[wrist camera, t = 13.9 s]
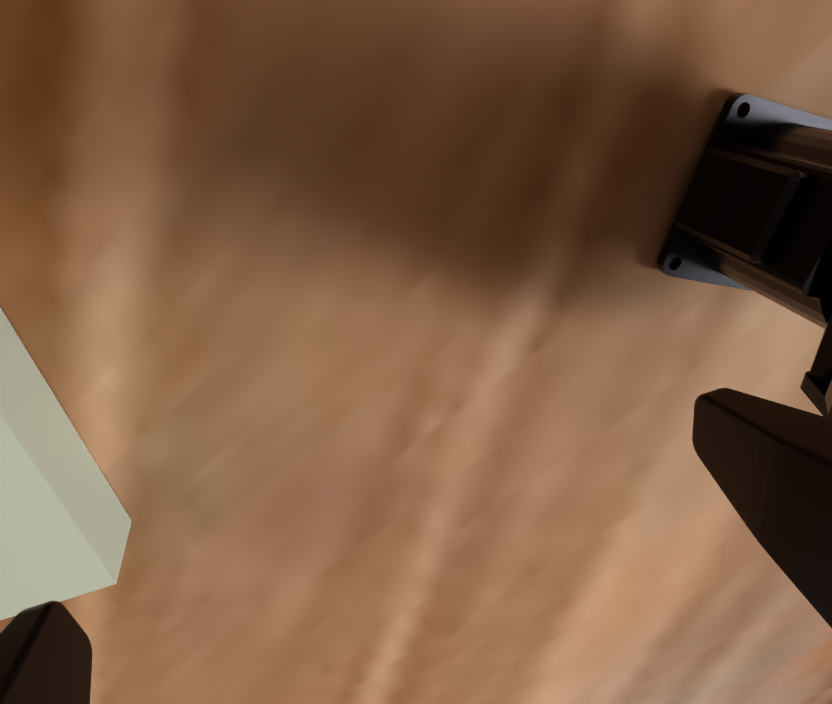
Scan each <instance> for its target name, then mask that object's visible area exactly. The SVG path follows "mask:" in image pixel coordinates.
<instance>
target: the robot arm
mask: <svg viewBox="0 0 832 704" xmlns="http://www.w3.org/2000/svg"><path fill="white" fill-rule="evenodd" d="M740 104H742V109H741V111H740V113H739V114H738V115H737V108H738V107H739V105H740ZM673 258H675V261H674V262H673V264H672V265H670V266H669V263H670V261H671V260H672V259H673ZM657 266H658V269H659V270H660V271H661V272H663V273H665V274H666V275H669V276H673V277H678V278H684V279H689V280H695V281H701V282H706V283H712V284H717V285H723V286H729V287H734V288H740V289H745V290H751V291H755V292H757V293H759V294H760V295H762V296H764V297H766V298H768V299H770V300H772V301H774V302H775V303H777V304H779V305H781V306H783V307H785V308H787V309H789V310H790V311H792V312H794V313H796V314H798V315H800V316H802V317H804V318H805V319H807V320H809V321H811V322H813V323H815V324H817V325H819V326H820V327H822V328H824V329H825V331H824V334H823V337H822V339H821V342H820V345H819V348H818V350H817V353H816V356H815V358H814V361H813V364H812V367H811V369H810V371H808V372H806V373H805V376H804V378H803V381H802V384H801V387H800V388H801V389H802V391H803V392H804V393H805V394H806V396H807V397H808V398H809V399H810V400H811V402H812V403H813V404H814V405H815V406H816V408H817V409H818V410H819V411H820V412H821V414H822V415H823V416H824V417H823V416H820V415H817V414H813V413H810V412H806V411H803V410H800V409H796V408H793V407H790V406H786V405H783V404H779V403H776V402H773V401H769V400H766V399H763V398H759V397H756V396H752V395H749V394H746V393H742V392H739V391H736V390H732V389H728V388H721V389H717V390H714V391H711V392H707V393H704V394H701V395H700V396H698V397H697V399H696V401H695V405H694V420H693V436H692V439H693V445H694V449H695V451H696V453H697V455H698V456H699V458H700V459H701V461H702V462H703V464H704V465H705V467H706V468H707V469H708V471H709V472H710V474H711V475H712V477H713V478H714V480H715V481H716V482H717V484H718V485H719V487H720V488H721V490H722V491H723V493H724V494H725V495H726V497H727V498H728V500H729V501H730V503H731V504H732V505H733V507H734V508H735V510H736V511H737V513H738V514H739V516H740V517H741V518H742V520H743V521H744V523H745V524H746V526H747V527H748V528H749V530H750V531H751V533H752V534H753V535H754V537H755V538H756V539H757V541H758V542H759V543H760V544H761V546H762V547H763V548H764V549H765V551H766V552H767V553H768V554H769V555H770V557H771V558H772V559H773V560H774V561H775V562H776V564H777V565H778V566H779V567H780V568H781V569H782V571H783V572H784V573H785V574H786V575H787V576H788V578H789V579H790V580H791V581H792V582H793V584H794V585H795V586H796V587H797V588H798V589H799V591H800V592H801V593H802V594H803V595H804V596H805V598H806V599H807V600H808V601H809V602H810V603H811V605H812V606H813V607H814V608H815V609H816V610H817V612H818V613H819V614H820V615H821V616H822V617H823V619H824V620H825V621H826V622H827V623H828V624H829V626H830V627H831V628H832V120H830V119H827V118H824V117H821V116H817V115H814V114H811V113H808V112H805V111H801V110H798V109H795V108H792V107H789V106H785V105H782V104H779V103H776V102H773V101H769V100H766V99H763V98H760V97H757V96H753V95H750V94H743V93H736V94H734V95H732V96H731V97H730V98H729V99H727V101H726V103H725V104H724V106H723V108H722V111H721V113H720V115H719V118H718V120H717V122H716V125H715V127H714V129H713V132H712V134H711V136H710V139H709V141H708V143H707V146H706V148H705V150H704V153H703V155H702V157H701V160H700V162H699V164H698V167H697V169H696V171H695V174H694V176H693V178H692V181H691V183H690V185H689V188H688V190H687V192H686V195H685V197H684V199H683V202H682V204H681V206H680V209H679V211H678V213H677V216H676V218H675V220H674V223H673V225H672V227H671V229H670V232H669V234H668V236H667V239H666V241H665V243H664V246H663V248H662V250H661V253H660V255H659V257H658V261H657ZM91 670H92V647H91V643H90V640H89V638H88V636H87V634H86V633H85V632H84V631H83V629H82V628H81V627H80V625H79V624H78V623H77V622H76V620H75V619H74V618H73V617H72V615H71V614H70V613H69V611H68V610H67V609H66V608H65V606H64V605H63V604H62V603H60V602H58V601H48V602H45V603H42V604H39V605H36V606H33V607H29V608H26V609H24V610H22V611H21V612H19V613H18V614H17V615H16V616H15V617H14V618H13V620H12V621H11V622H10V623H9V624H8V625H7V626H6V627H5V628H4V630H3V631H2V632H1V633H0V704H90V689H91Z"/></svg>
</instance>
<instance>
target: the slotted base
mask: <svg viewBox="0 0 832 704" xmlns="http://www.w3.org/2000/svg"><path fill="white" fill-rule="evenodd" d="M130 526H131V519H130V518H129V516H128V514H127V513H126V511H125V510H124V508H123V506H122V505H121V503H120V501H119V500H118V498H117V497H116V495H115V493H114V492H113V490H112V488H111V487H110V485H109V484H108V482H107V480H106V479H105V477H104V475H103V474H102V472H101V471H100V469H99V467H98V466H97V464H96V462H95V461H94V459H93V457H92V456H91V454H90V453H89V451H88V449H87V448H86V446H85V444H84V443H83V441H82V440H81V438H80V436H79V435H78V433H77V431H76V430H75V428H74V427H73V425H72V423H71V422H70V420H69V418H68V417H67V415H66V414H65V412H64V410H63V409H62V407H61V405H60V404H59V402H58V401H57V399H56V397H55V396H54V394H53V392H52V391H51V389H50V388H49V386H48V384H47V383H46V381H45V379H44V378H43V376H42V375H41V373H40V371H39V370H38V368H37V366H36V365H35V363H34V361H33V360H32V358H31V357H30V355H29V353H28V352H27V350H26V348H25V347H24V345H23V344H22V342H21V340H20V339H19V337H18V335H17V334H16V332H15V331H14V329H13V327H12V326H11V324H10V322H9V321H8V319H7V318H6V316H5V314H4V313H3V311H2V309H1V308H0V620H3V619H6V618H9V617H13V616H16V615H17V614H18V613H19V612H21V611H22V610H24V609H26V608H29V607H33V606H36V605H39V604H42V603H45V602H48V601H58V602H60V601H63V600H66V599H70V598H73V597H76V596H79V595H82V594H85V593H89V592H92V591H95V590H98V589H101V588H104V587H108V586H111V585H114V584H116V583H117V579H118V575H119V571H120V567H121V563H122V559H123V554H124V550H125V546H126V542H127V538H128V534H129V530H130Z"/></svg>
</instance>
